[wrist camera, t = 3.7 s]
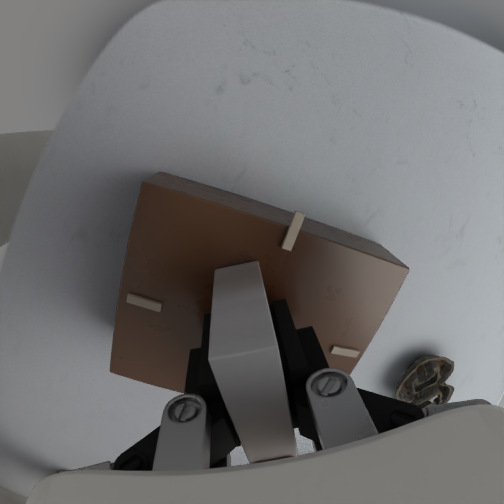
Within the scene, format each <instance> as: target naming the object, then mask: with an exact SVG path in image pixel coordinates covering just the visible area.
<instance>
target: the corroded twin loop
mask: <svg viewBox="0 0 504 504" xmlns="http://www.w3.org/2000/svg"><path fill="white" fill-rule="evenodd" d="M453 370H454V362H453V361H451V360H450V359H448V358H446V357H439V356H436V355H430V356H423V357H421V358H419V359H417V360H415V362H414V363H413V364H412V365H411V366H410V367H409V368H408V370H407V371H406V372H405V374H404V375H403V377H402V378H401V380H400V381H399V382H398V385H397V392H396V399H397V400H400V401H404V402H408V403H411V404H414V405H416V406H417V405H419V404H420V406H419V408H420V409H426V408H427V406H428V405H436V404H445V403H447V402H448V401H449V400H450V398H451V396H452V394H453V391H454V387H452V386H450V385H447V384H446V383H445V381H446V380H447V379H448V377H449V376H450V375H451V373H452V372H453ZM436 371H438V372H437V373H436ZM429 379H430V380H429ZM427 380H428V381H427ZM415 383H416V386H415ZM436 395H438V397H437V398H436V399H434V401H433V403H432V402H430V401H427V400H429V399H430V398H432V397H434V396H436Z"/></svg>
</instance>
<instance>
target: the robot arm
mask: <svg viewBox="0 0 504 504" xmlns="http://www.w3.org/2000/svg"><path fill="white" fill-rule="evenodd" d="M269 309H270V314H271V318H272V322H273V326H274V331H275V335H276V339H277V344H278V348H279V353H280V359H281V364H282V369H283V375H284V380H285V385H286V391H287V396H288V401H289V407H290V412H291V418H292V423H293V428H299V432H300V435H302V436H304V437H306V438H309V439H311V440H312V444H313V447H314V451H315V452H313V453H308V454H304V455H299V456H294V457H289V458H284V459H278V460H273V461H267V462H261V463H254V464H247V465H239V466H231V456H230V452H231V451H232V450H233V449H234V448H235V447H237V446H241V442H240V440H239V437H238V435H237V433H236V430H235V428H234V425H233V423H232V420H231V418H230V416H229V413H228V411H227V408H226V405H225V403H224V400H223V398H222V395H221V393H220V390H219V387H218V385H217V382H216V379H215V377H214V374H213V371H212V369H211V366H210V363H209V360H208V354H209V338H210V324H211V313H208V314H205V315H204V323H203V332H202V342H201V348H195V349H191V350H190V353H189V360H188V367H187V375H186V382H185V390H184V394H182V395H179V396H177V397H174V398H173V399H172V400H170V401H169V402H168V403H167V404H166V406H165V408H164V411H163V415H162V420H161V425H160V426H159V427H157V428H156V429H155V430H153V431H152V432H151V433H149V434H148V435H147V436H145V437H144V438H143V439H141V440H140V441H139V442H137V443H136V444H135V445H133V446H132V447H130V448H129V449H128V450H126V451H125V452H123V453H122V454H121V455H120V456H119V457H118V458H117V459H116V461H115V462H114V463H111V462H110V461H107V462H103V463H99V464H95V465H91V466H87V467H83V468H79V469H74V470H70V471H66V472H62V473H58V474H54V475H51V476H48V477H46V478H44V479H42V480H40V481H39V482H38V483H37V484H36V485H35V487H34V488H33V490H32V491H31V493H30V495H29V497H28V499H27V502H26V504H504V408H502V407H500V406H496V405H492V404H491V403H489V402H488V401H486V400H483V399H474V400H467V401H460V402H453V403H445V404H436V405H428V406H427V408H426V409H420V408H419V407H418V406H416V405H414V404H411V403H408V402H404V401H400V400H397V399H393V398H389V397H386V396H382V395H379V394H376V393H372V392H369V391H366V390H362V389H359V388H356V386H355V384H354V382H353V380H352V378H351V377H350V375H349V374H348V373H347V372H345V371H344V370H342V369H338V368H330V367H329V365H328V362H327V360H326V357H325V355H324V353H323V350H322V348H321V345H320V343H319V340H318V338H317V336H316V333H315V331H314V328H313V327H312V326H309V327H304V328H300V329H296V328H295V325H294V322H293V319H292V316H291V313H290V310H289V307H288V304H287V301H286V298H284V299H279V300H274V301H272V305H269Z"/></svg>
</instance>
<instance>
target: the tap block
mask: <svg viewBox="0 0 504 504" xmlns="http://www.w3.org/2000/svg"><path fill="white" fill-rule="evenodd" d="M254 261H258V262H259V267H260V271H261V275H262V279H263V284H264V288H265V292H266V296H267V301H268V305H272V301H274V300H279V299H284V298H286V301H287V304H288V307H289V310H290V313H291V316H292V319H293V322H294V325H295V328H296V329H300V328H304V327H309V326H312V327H313V328H314V331H315V333H316V336H317V338H318V340H319V343H320V345H321V348H322V350H323V353H324V355H325V357H326V360H327V362H328V365H329V367H330V368H338V369H342V370H344V371H345V372H347V373H348V374H349V375H350V374H351V372H352V371H353V369H354V367H355V366H356V364H357V363H358V361H359V360H360V358H361V356H362V355H363V353H364V352H365V350H366V348H367V347H368V345H369V343H370V342H371V340H372V338H373V337H374V335H375V333H376V331H377V330H378V328H379V326H380V325H381V323H382V321H383V319H384V317H385V316H386V314H387V312H388V310H389V308H390V307H391V305H392V303H393V301H394V299H395V297H396V295H397V293H398V291H399V290H400V288H401V286H402V284H403V282H404V280H405V278H406V276H407V274H408V272H409V268H408V267H407V266H406V265H405V264H403V263H402V262H401V261H400V260H399V259H397V258H396V257H395V256H394V255H393V254H391V253H390V252H389V251H388V250H387V249H385V248H384V247H383V246H382V245H380V244H377V243H375V242H372V241H369V240H367V239H364V238H361V237H359V236H356V235H353V234H350V233H348V232H345V231H342V230H340V229H337V228H334V227H331V226H328V225H326V224H323V223H320V222H317V221H314V220H311V219H309V218H306V217H305V214H303V213H300V212H297V211H295V213H291V212H288V211H285V210H282V209H279V208H276V207H273V206H270V205H267V204H264V203H261V202H258V201H255V200H252V199H249V198H246V197H243V196H240V195H237V194H233V193H230V192H227V191H224V190H221V189H218V188H214V187H211V186H208V185H205V184H201V183H198V182H195V181H191V180H188V179H185V178H181V177H178V176H174V175H171V174H167V173H164V172H159V173H157V174H155V175H154V176H152V177H150V178H148V179H147V180H145V181H143V182H142V185H141V189H140V193H139V197H138V201H137V205H136V209H135V214H134V218H133V222H132V227H131V232H130V236H129V241H128V246H127V251H126V256H125V262H124V267H123V273H122V278H121V284H120V290H119V297H118V303H117V310H116V318H115V325H114V333H113V342H112V352H111V362H110V372H112V373H115V374H118V375H121V376H124V377H127V378H130V379H134V380H137V381H140V382H144V383H147V384H151V385H154V386H158V387H162V388H165V389H169V390H173V391H177V392H181V393H184V390H185V382H186V375H187V367H188V360H189V353H190V350H191V349H195V348H201V342H202V332H203V323H204V315H205V314H208V313H211V310H212V297H213V285H214V273H215V270H216V269H220V268H224V267H229V266H234V265H239V264H244V263H249V262H254Z"/></svg>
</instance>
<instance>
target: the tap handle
mask: <svg viewBox="0 0 504 504" xmlns="http://www.w3.org/2000/svg"><path fill="white" fill-rule="evenodd" d="M208 360H209V363H210V366H211V369H212V371H213V374H214V377H215V379H216V382H217V385H218V387H219V390H220V393H221V395H222V398H223V400H224V403H225V405H226V408H227V411H228V413H229V416H230V418H231V420H232V423H233V425H234V428H235V430H236V433H237V435H238V437H239V440H240V442H241V444H242V447H243V449H244V451H245V454H246V456H247V458H248V461H249V463H250V464H254V463H261V462H267V461H273V460H278V459H284V458H289V457H294V456H298V450H297V445H296V439H295V434H294V428H293V423H292V418H291V412H290V407H289V401H288V396H287V391H286V385H285V380H284V375H283V369H282V364H281V359H280V353H279V348H278V344H277V339H276V335H275V331H274V326H273V322H272V318H271V314H270V309H269V305H268V301H267V296H266V292H265V288H264V284H263V279H262V275H261V271H260V267H259V262H258V261H254V262H249V263H244V264H239V265H234V266H229V267H224V268H220V269H216V270H215V273H214V285H213V297H212V310H211V324H210V338H209V354H208Z"/></svg>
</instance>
